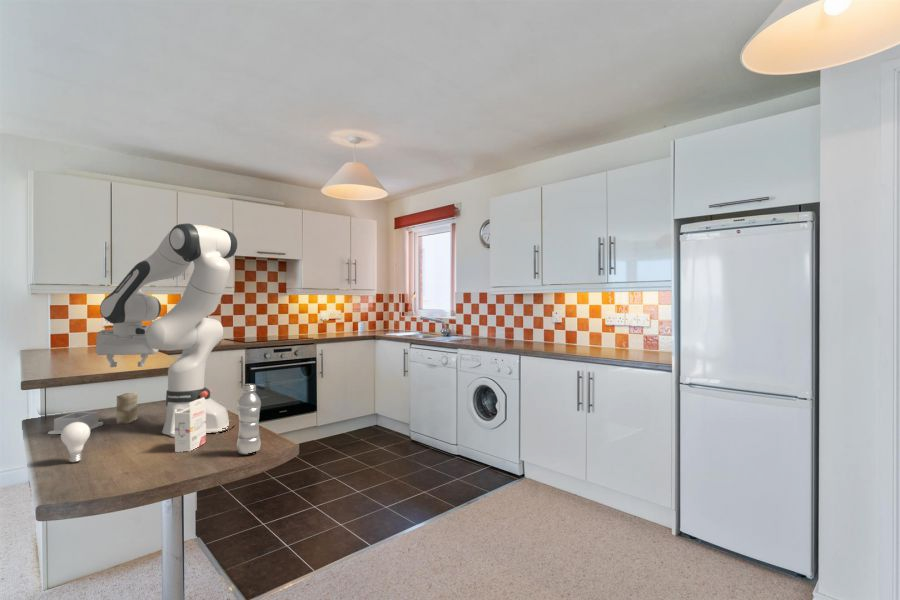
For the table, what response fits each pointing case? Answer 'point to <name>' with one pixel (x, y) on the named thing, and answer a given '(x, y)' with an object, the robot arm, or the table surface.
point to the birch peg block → (126, 408)
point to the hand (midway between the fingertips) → (127, 366)
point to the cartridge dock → (84, 417)
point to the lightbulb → (75, 439)
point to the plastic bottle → (248, 420)
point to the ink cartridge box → (190, 426)
